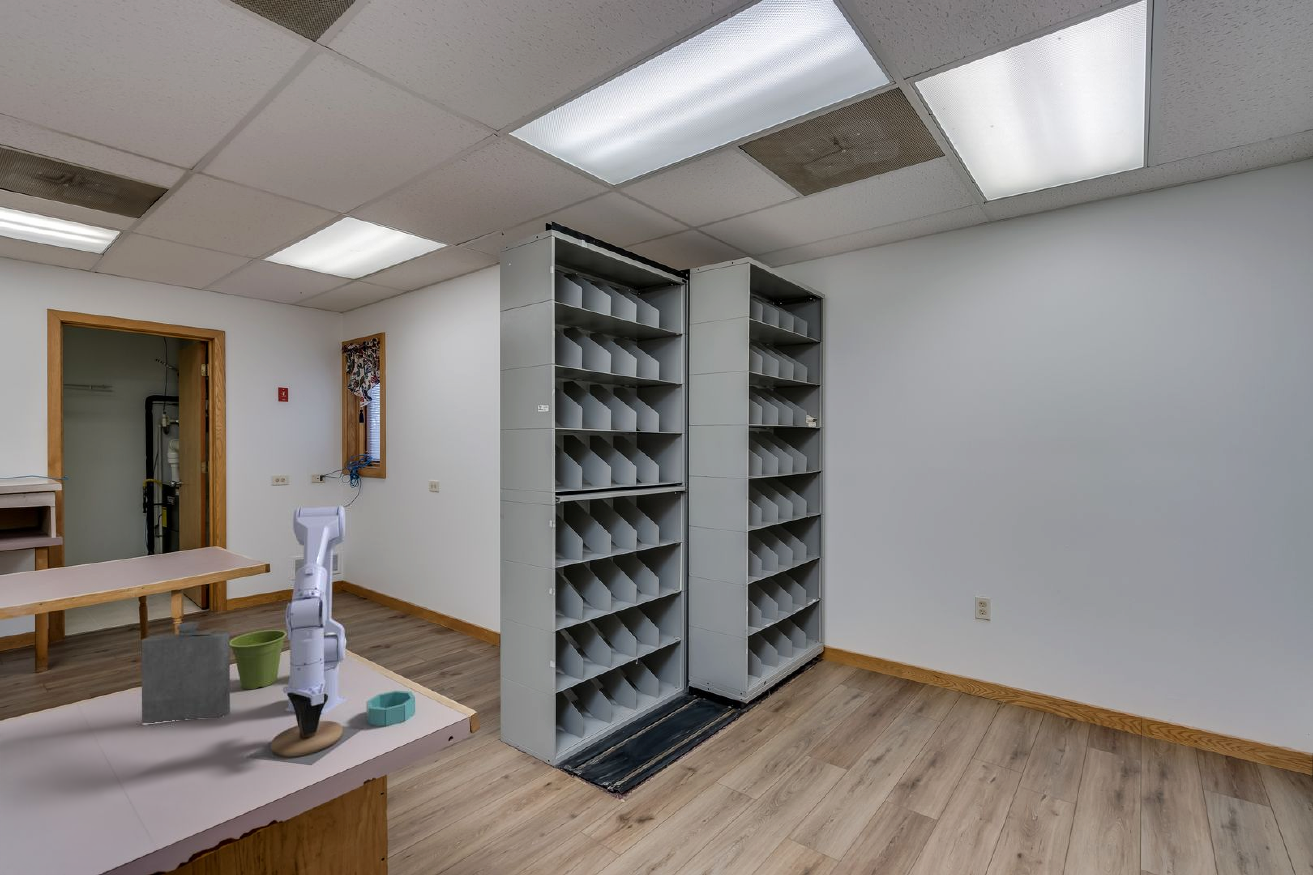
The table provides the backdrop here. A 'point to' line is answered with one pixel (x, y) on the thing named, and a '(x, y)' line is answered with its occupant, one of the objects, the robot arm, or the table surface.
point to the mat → (309, 758)
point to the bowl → (390, 708)
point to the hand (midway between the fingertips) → (307, 730)
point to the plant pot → (258, 657)
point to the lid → (306, 739)
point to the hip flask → (186, 675)
